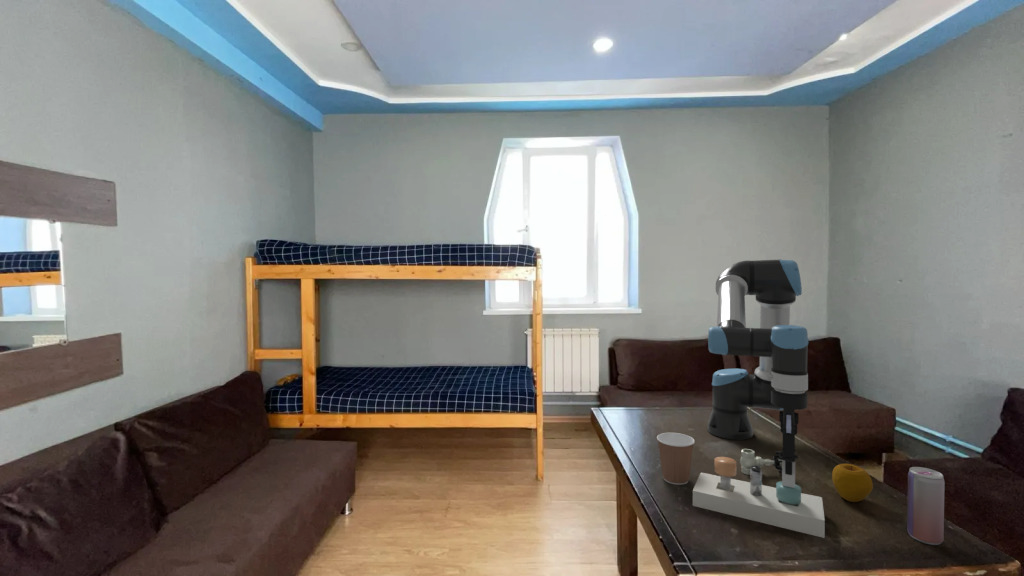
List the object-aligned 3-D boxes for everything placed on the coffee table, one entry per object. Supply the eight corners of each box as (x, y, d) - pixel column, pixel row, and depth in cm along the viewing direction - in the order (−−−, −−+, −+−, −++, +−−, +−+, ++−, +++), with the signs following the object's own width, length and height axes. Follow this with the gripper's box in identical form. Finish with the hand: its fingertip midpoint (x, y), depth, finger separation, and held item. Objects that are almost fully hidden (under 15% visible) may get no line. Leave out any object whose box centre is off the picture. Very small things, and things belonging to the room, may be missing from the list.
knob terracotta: (716, 480, 121) (716, 455, 121) (737, 485, 119) (737, 459, 118) (713, 489, 117) (713, 462, 117) (735, 494, 114) (735, 466, 114)
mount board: (700, 486, 127) (700, 472, 127) (821, 513, 112) (821, 497, 112) (692, 505, 117) (692, 490, 116) (824, 538, 102) (824, 520, 102)
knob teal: (776, 506, 114) (776, 479, 114) (800, 512, 111) (801, 484, 111) (775, 516, 110) (775, 488, 109) (801, 522, 107) (801, 493, 107)
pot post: (750, 490, 116) (750, 464, 116) (762, 492, 114) (762, 466, 114) (749, 494, 114) (749, 468, 113) (761, 497, 112) (761, 470, 112)
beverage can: (900, 531, 104) (901, 467, 103) (923, 529, 104) (925, 465, 104) (925, 547, 98) (927, 479, 97) (951, 545, 98) (952, 477, 98)
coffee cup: (693, 473, 134) (693, 434, 134) (695, 490, 125) (695, 447, 124) (657, 469, 138) (657, 430, 137) (656, 484, 128) (656, 443, 128)
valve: (745, 477, 132) (788, 478, 131) (745, 455, 131) (788, 456, 130) (736, 467, 138) (777, 468, 137) (736, 446, 138) (777, 447, 137)
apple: (881, 505, 115) (881, 471, 114) (852, 509, 113) (852, 474, 113) (851, 489, 123) (851, 457, 123) (823, 492, 122) (824, 460, 122)
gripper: (772, 382, 117) (771, 471, 118) (769, 394, 106) (769, 493, 107) (806, 385, 113) (806, 478, 114) (808, 398, 102) (807, 501, 103)
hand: (788, 485), depth 110 cm, fingers closed
